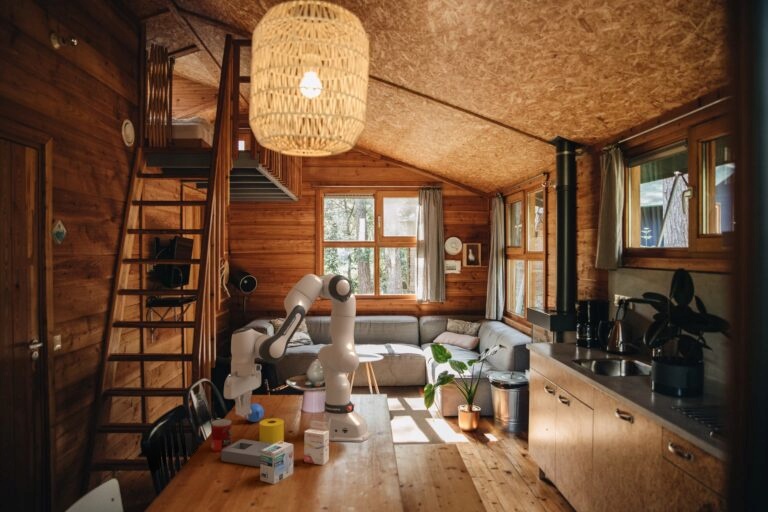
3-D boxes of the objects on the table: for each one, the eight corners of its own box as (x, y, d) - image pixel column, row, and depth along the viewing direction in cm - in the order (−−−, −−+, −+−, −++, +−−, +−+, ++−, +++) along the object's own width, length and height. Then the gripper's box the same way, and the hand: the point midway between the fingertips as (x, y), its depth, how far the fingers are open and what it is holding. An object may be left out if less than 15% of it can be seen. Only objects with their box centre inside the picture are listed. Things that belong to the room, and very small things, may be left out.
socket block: (284, 455, 193) (284, 444, 193) (266, 467, 180) (266, 457, 181) (241, 448, 199) (241, 439, 199) (221, 460, 187) (221, 450, 187)
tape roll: (272, 438, 211) (272, 416, 212) (288, 443, 206) (288, 421, 206) (254, 445, 203) (254, 422, 203) (270, 450, 197) (270, 427, 198)
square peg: (250, 412, 193) (250, 389, 193) (244, 415, 189) (244, 392, 189) (241, 411, 194) (241, 389, 194) (235, 414, 190) (235, 391, 190)
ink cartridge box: (303, 462, 186) (303, 423, 186) (309, 457, 190) (309, 419, 191) (323, 465, 183) (323, 426, 183) (329, 460, 187) (329, 422, 188)
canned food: (225, 453, 195) (225, 425, 195) (207, 451, 197) (207, 424, 197) (234, 446, 202) (235, 419, 203) (217, 444, 204) (217, 418, 204)
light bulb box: (273, 485, 166) (274, 453, 167) (259, 480, 170) (259, 449, 170) (294, 473, 176) (294, 443, 176) (280, 469, 179) (280, 440, 179)
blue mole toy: (234, 422, 234) (234, 404, 234) (256, 416, 242) (256, 399, 242) (245, 428, 225) (245, 409, 225) (268, 422, 233) (268, 405, 233)
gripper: (233, 375, 181) (233, 412, 181) (263, 364, 200) (264, 398, 200) (219, 374, 183) (219, 411, 183) (250, 363, 202) (250, 396, 202)
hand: (243, 404), depth 192 cm, fingers closed on square peg, 4 cm apart
